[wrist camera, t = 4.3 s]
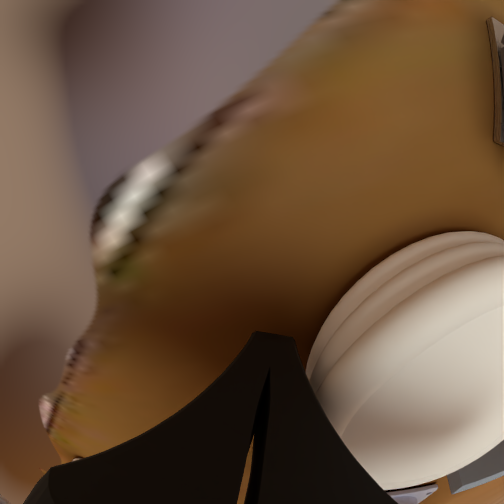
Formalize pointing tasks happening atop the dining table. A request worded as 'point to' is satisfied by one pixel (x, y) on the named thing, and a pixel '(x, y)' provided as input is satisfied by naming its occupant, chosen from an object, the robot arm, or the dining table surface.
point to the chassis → (479, 470)
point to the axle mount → (497, 77)
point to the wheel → (502, 58)
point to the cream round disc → (417, 360)
